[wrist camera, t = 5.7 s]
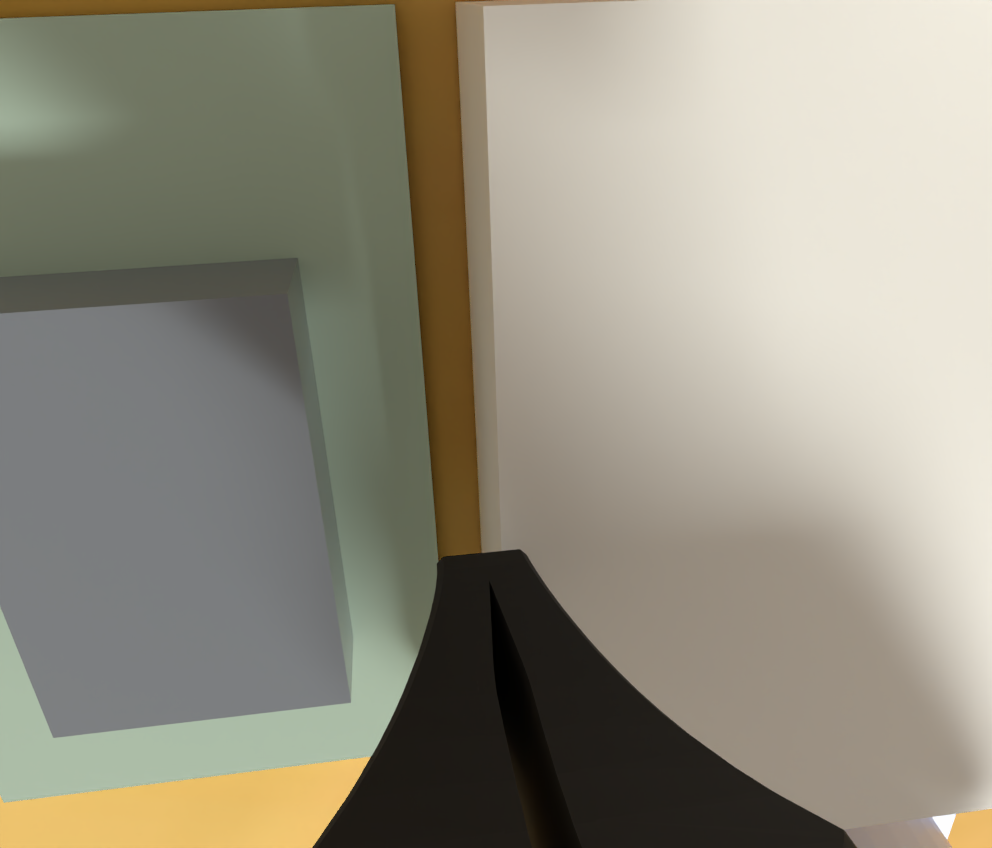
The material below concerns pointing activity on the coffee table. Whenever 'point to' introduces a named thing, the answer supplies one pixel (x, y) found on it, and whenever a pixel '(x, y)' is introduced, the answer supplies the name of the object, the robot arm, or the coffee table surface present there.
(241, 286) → the gray rectangular block
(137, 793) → the coffee table surface
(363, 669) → the mat
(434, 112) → the coffee table surface
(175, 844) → the coffee table surface
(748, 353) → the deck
